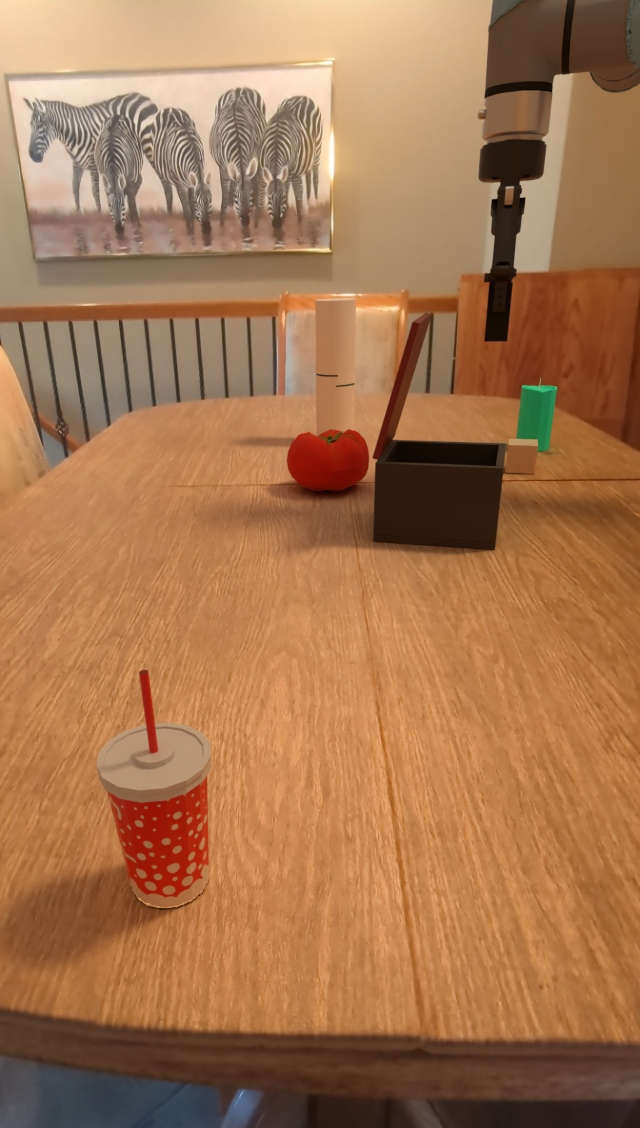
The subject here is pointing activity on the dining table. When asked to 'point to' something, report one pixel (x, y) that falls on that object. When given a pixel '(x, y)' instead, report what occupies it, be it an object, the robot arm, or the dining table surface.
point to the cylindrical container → (335, 363)
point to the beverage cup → (160, 805)
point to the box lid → (402, 383)
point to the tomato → (328, 460)
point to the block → (521, 456)
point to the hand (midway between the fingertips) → (495, 335)
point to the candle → (536, 414)
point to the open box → (438, 493)
